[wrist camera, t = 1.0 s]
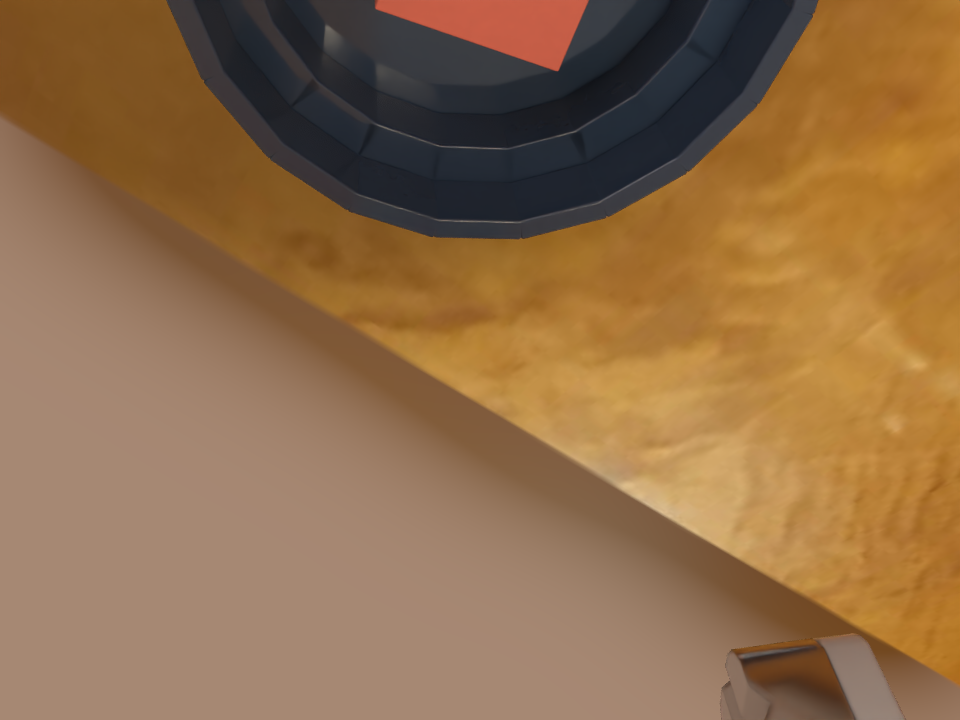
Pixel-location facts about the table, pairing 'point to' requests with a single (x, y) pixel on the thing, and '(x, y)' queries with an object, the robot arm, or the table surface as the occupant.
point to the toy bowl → (488, 104)
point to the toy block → (500, 24)
